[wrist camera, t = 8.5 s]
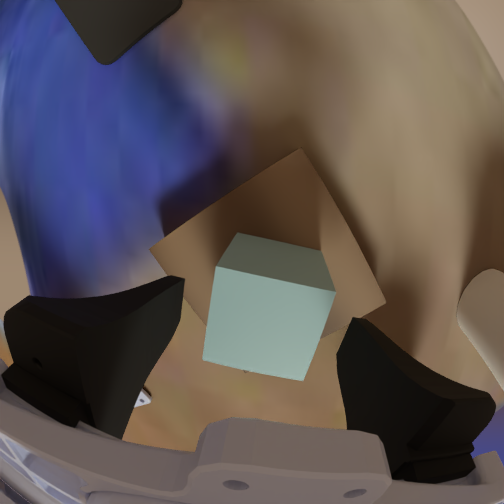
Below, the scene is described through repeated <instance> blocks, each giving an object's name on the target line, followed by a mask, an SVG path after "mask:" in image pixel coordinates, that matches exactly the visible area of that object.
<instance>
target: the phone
mask: <svg viewBox="0 0 504 504" xmlns="http://www.w3.org/2000/svg"><path fill="white" fill-rule="evenodd" d="M55 1H56V3H57V4H58V6H59V7H60V9H61V10H62V12H63V13H64V14H65V16H66V17H67V19H68V20H69V22H70V23H71V25H72V26H73V28H74V29H75V31H76V32H77V33H78V35H79V36H80V38H81V39H82V41H83V42H84V44H85V45H86V46H87V48H88V49H89V51H90V52H91V54H92V55H93V57H94V58H95V59H96V61H97V62H99V63H101V64H103V65H109V64H112V63H113V62H115V61H116V60H118V59H119V58H120V57H121V56H122V55H123V54H124V53H125V52H127V51H128V50H129V49H130V48H131V47H132V46H133V45H135V44H136V43H137V42H138V41H139V40H141V39H142V38H143V37H144V36H145V35H147V34H148V33H149V32H150V31H152V30H153V29H154V28H155V27H157V26H158V25H159V24H161V23H162V22H163V21H165V20H166V19H167V18H169V17H170V16H171V15H173V14H174V13H175V12H176V11H177V10H178V9H179V8H180V7H181V5H182V0H55Z"/></svg>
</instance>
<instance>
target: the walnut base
mask: <svg viewBox="0 0 504 504" xmlns="http://www.w3.org/2000/svg"><path fill="white" fill-rule="evenodd" d="M237 232H238V233H242V234H247V235H252V236H256V237H261V238H266V239H270V240H275V241H279V242H284V243H288V244H293V245H297V246H302V247H306V248H311V249H315V250H320V251H322V254H323V256H324V259H325V262H326V265H327V267H328V270H329V273H330V276H331V278H332V281H333V284H334V287H335V290H336V295H335V298H334V300H333V303H332V306H331V309H330V312H329V315H328V318H327V321H326V323H325V326H324V329H323V332H322V334H321V337H320V339H321V338H323V337H325V336H327V335H329V334H331V333H333V332H335V331H337V330H339V329H340V328H342V327H344V326H346V325H348V324H350V322H351V320H352V317H356V318H361V317H363V316H364V315H366V314H368V313H370V312H371V311H373V310H375V309H377V308H378V307H380V306H382V305H383V304H385V303H387V302H386V300H385V298H384V296H383V294H382V292H381V289H380V287H379V285H378V283H377V281H376V279H375V277H374V275H373V273H372V271H371V269H370V267H369V265H368V263H367V261H366V259H365V257H364V255H363V253H362V251H361V249H360V247H359V245H358V243H357V242H356V240H355V238H354V236H353V234H352V232H351V230H350V229H349V227H348V225H347V223H346V221H345V219H344V218H343V216H342V214H341V212H340V211H339V209H338V207H337V205H336V204H335V202H334V200H333V198H332V197H331V195H330V193H329V191H328V190H327V188H326V186H325V185H324V183H323V181H322V180H321V178H320V176H319V175H318V173H317V172H316V170H315V168H314V167H313V165H312V164H311V162H310V160H309V159H308V157H307V156H306V154H305V152H304V151H303V149H302V148H299V149H297V150H296V151H294V152H292V153H291V154H289V155H288V156H286V157H284V158H283V159H281V160H279V161H278V162H276V163H275V164H273V165H271V166H270V167H268V168H267V169H265V170H263V171H262V172H260V173H259V174H257V175H256V176H254V177H252V178H251V179H249V180H248V181H246V182H245V183H243V184H242V185H240V186H239V187H237V188H236V189H234V190H232V191H231V192H229V193H228V194H226V195H225V196H223V197H222V198H220V199H219V200H217V201H216V202H215V203H213V204H212V205H210V206H209V207H207V208H206V209H204V210H203V211H201V212H200V213H198V214H197V215H196V216H194V217H193V218H191V219H190V220H188V221H187V222H186V223H184V224H183V225H181V226H180V227H178V228H177V229H176V230H174V231H173V232H171V233H170V234H169V235H167V236H166V237H165V238H163V239H162V240H160V241H159V242H158V243H156V244H155V245H154V246H152V247H151V248H150V249H149V250H150V252H151V253H152V254H153V256H154V257H155V259H156V260H157V261H158V263H159V264H160V266H161V267H162V268H163V270H164V271H165V273H166V274H167V275H168V276H170V275H173V276H177V277H181V278H185V285H184V293H183V297H184V298H185V300H186V301H187V302H188V303H189V305H190V306H191V307H192V309H193V310H194V311H195V313H196V314H197V315H198V316H199V318H200V319H201V320H202V321H203V323H204V324H205V325H206V326H207V322H208V315H209V308H210V301H211V294H212V288H213V281H214V275H215V268H216V265H217V263H218V262H219V260H220V259H221V257H222V256H223V254H224V252H225V251H226V249H227V248H228V246H229V245H230V243H231V241H232V240H233V238H234V237H235V235H236V234H237ZM243 371H244V372H245V373H247V372H249V371H247V370H243Z"/></svg>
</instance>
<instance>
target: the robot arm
mask: <svg viewBox="0 0 504 504" xmlns="http://www.w3.org/2000/svg"><path fill="white" fill-rule="evenodd" d="M184 285H185V278H181V277H177V276H173V275H170V276H166V277H163V278H161V279H158V280H155V281H153V282H150V283H147V284H144V285H142V286H139V287H136V288H132V289H129V290H126V291H123V292H119V293H115V294H110V295H105V296H98V297H89V298H76V299H60V298H46V297H37V296H30V295H29V296H27V297H26V298H24V299H23V300H21V301H20V302H19V303H17V304H16V305H14V306H13V307H12V308H10V309H9V310H8V311H6V313H5V316H4V331H5V336H6V339H7V343H8V346H9V349H10V352H11V356H12V359H13V362H14V363H13V364H12V365H11V366H10V367H9V368H8V366H7V365H6V364H5V362H4V361H3V360H2V359H0V478H1V479H2V480H3V481H4V482H3V481H2V480H1V479H0V504H503V503H504V467H503V464H502V462H501V460H500V458H499V456H498V454H497V452H496V451H492V452H488V453H484V454H481V455H478V456H476V457H475V458H473V459H472V456H471V454H470V453H471V452H473V451H474V446H473V444H472V442H473V441H474V440H475V439H476V438H477V436H478V435H479V434H480V433H481V432H482V431H483V430H484V428H485V427H486V426H487V425H488V423H489V422H490V421H491V419H492V417H493V415H494V413H495V409H496V404H495V402H494V400H493V398H492V397H491V395H490V394H489V393H488V392H485V391H481V390H478V389H474V388H471V387H468V386H465V385H462V384H460V383H457V382H455V381H452V380H450V379H448V378H446V377H444V376H442V375H440V374H438V373H436V372H434V371H433V370H431V369H429V368H428V367H426V366H424V365H423V364H421V363H420V362H418V361H417V360H415V359H414V358H413V357H411V356H410V355H409V354H407V353H406V352H405V351H404V350H402V349H401V348H400V347H399V346H397V345H396V344H395V343H394V342H393V341H392V340H390V339H389V338H388V337H387V336H386V335H385V334H384V333H382V332H381V331H380V330H379V329H378V328H377V327H375V326H374V325H373V324H372V323H370V322H369V321H367V320H366V319H362V318H356V317H352V320H351V322H350V325H349V327H348V329H347V332H346V334H345V336H344V339H343V341H342V343H341V345H340V348H339V350H338V352H337V354H336V356H337V374H338V379H339V384H340V389H341V393H342V398H343V403H344V408H345V413H346V421H347V430H342V429H329V428H318V427H309V426H301V425H293V424H286V423H280V422H273V421H267V420H262V419H256V418H235V417H231V418H228V419H224V420H221V421H217V422H214V423H210V424H208V426H207V427H206V428H205V429H204V431H203V432H202V433H201V434H200V437H199V441H198V444H197V448H196V451H195V452H188V451H179V450H172V449H165V448H158V447H152V446H146V445H141V444H135V443H130V442H126V441H123V440H122V437H123V434H124V432H125V429H126V426H127V424H128V421H129V418H130V416H131V413H132V411H133V409H134V407H137V406H141V405H144V404H148V403H150V402H151V400H152V398H151V397H150V395H149V394H148V393H147V392H146V391H145V390H144V389H143V386H144V383H145V381H146V379H147V377H148V376H149V374H150V372H151V370H152V369H153V367H154V366H155V364H156V363H157V361H158V359H159V358H160V356H161V355H162V353H163V352H164V350H165V348H166V347H167V345H168V344H169V342H170V341H171V339H172V337H173V335H174V333H175V331H176V328H177V326H178V324H179V322H180V318H181V309H182V301H183V293H184ZM5 483H6V484H5ZM7 484H8V485H9V486H10V487H11V488H12V489H11V488H10V487H9V486H8V485H7ZM13 489H14V490H15V491H16V492H17V493H16V492H15V491H14V490H13ZM19 494H20V495H21V496H22V497H21V496H20V495H19ZM24 498H25V499H26V500H25V499H24ZM27 501H29V502H30V503H29V502H27Z"/></svg>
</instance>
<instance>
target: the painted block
mask: <svg viewBox="0 0 504 504" xmlns="http://www.w3.org/2000/svg"><path fill="white" fill-rule="evenodd" d="M335 295H336V290H335V287H334V284H333V281H332V278H331V276H330V273H329V270H328V267H327V265H326V262H325V259H324V256H323V254H322V251H320V250H315V249H311V248H306V247H302V246H297V245H293V244H288V243H284V242H279V241H275V240H270V239H266V238H261V237H256V236H252V235H247V234H242V233H238V232H237V234H236V235H235V237H234V238H233V240H232V241H231V243H230V245H229V246H228V248H227V249H226V251H225V252H224V254H223V256H222V257H221V259H220V260H219V262H218V263H217V265H216V268H215V275H214V281H213V288H212V294H211V301H210V308H209V315H208V322H207V329H206V336H205V344H204V351H203V359H202V360H205V361H209V362H213V363H217V364H221V365H225V366H229V367H233V368H238V369H242V370H247V371H252V372H256V373H261V374H266V375H272V376H277V377H282V378H288V379H294V380H300V381H303V380H304V378H305V375H306V373H307V370H308V368H309V365H310V363H311V360H312V358H313V355H314V353H315V350H316V347H317V345H318V342H319V340H320V337H321V334H322V332H323V329H324V326H325V323H326V321H327V318H328V315H329V312H330V309H331V306H332V303H333V300H334V298H335Z"/></svg>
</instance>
